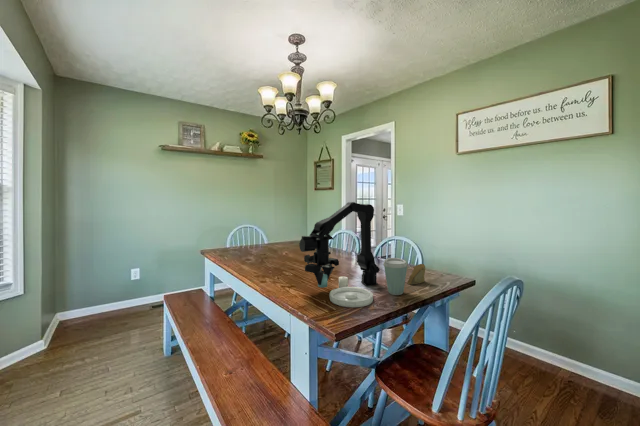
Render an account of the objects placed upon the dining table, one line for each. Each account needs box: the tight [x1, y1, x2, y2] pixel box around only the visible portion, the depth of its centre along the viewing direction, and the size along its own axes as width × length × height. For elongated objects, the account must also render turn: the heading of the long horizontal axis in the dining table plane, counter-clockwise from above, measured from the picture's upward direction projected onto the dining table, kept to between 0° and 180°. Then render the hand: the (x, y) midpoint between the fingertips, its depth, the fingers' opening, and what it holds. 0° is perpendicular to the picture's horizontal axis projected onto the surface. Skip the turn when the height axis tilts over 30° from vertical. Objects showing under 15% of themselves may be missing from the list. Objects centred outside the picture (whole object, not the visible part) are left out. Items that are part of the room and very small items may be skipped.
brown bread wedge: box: [407, 263, 426, 286], centre depth 144 cm, size 11×9×10 cm
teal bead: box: [317, 274, 328, 289], centre depth 130 cm, size 4×4×5 cm
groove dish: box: [329, 286, 374, 308], centre depth 121 cm, size 18×18×2 cm
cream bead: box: [338, 276, 349, 288], centre depth 136 cm, size 4×4×5 cm
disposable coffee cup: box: [382, 257, 408, 296], centre depth 129 cm, size 11×11×15 cm
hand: (322, 283), depth 130 cm, fingers closed on teal bead, 4 cm apart
